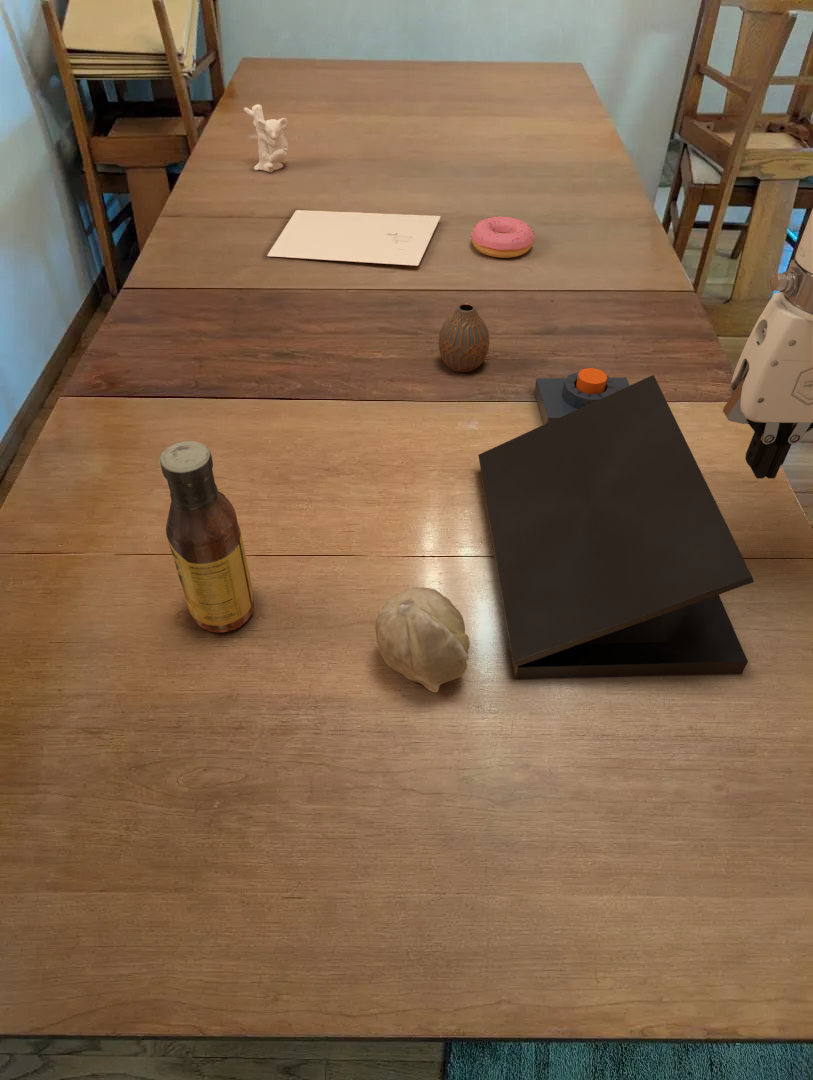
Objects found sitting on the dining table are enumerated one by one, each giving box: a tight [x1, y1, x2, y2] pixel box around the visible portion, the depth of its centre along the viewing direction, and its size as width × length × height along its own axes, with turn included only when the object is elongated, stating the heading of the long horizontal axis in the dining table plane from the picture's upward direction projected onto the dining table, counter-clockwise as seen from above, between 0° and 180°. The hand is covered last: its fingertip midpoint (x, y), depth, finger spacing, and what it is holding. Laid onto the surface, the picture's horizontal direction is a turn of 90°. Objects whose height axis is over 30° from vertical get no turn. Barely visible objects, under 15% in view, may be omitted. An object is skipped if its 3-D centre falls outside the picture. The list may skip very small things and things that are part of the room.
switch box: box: [534, 370, 631, 425], centre depth 102 cm, size 12×9×4 cm
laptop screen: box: [477, 374, 755, 666], centre depth 78 cm, size 21×30×1 cm
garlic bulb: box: [374, 586, 471, 693], centre depth 70 cm, size 9×8×10 cm
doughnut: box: [470, 215, 535, 259], centre depth 137 cm, size 11×11×4 cm
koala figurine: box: [243, 103, 289, 173], centre depth 161 cm, size 8×7×12 cm
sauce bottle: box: [159, 440, 255, 633], centre depth 70 cm, size 6×6×20 cm
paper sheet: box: [266, 209, 442, 266], centre depth 141 cm, size 24×29×1 cm
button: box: [576, 367, 608, 394], centre depth 100 cm, size 4×4×2 cm
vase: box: [438, 302, 490, 373], centre depth 108 cm, size 7×7×9 cm
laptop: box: [480, 469, 749, 680], centre depth 83 cm, size 21×30×2 cm
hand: (759, 469), depth 75 cm, fingers closed
